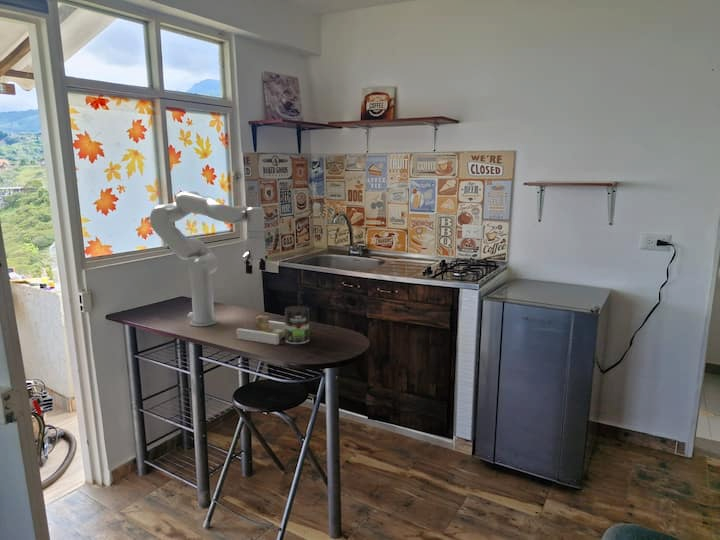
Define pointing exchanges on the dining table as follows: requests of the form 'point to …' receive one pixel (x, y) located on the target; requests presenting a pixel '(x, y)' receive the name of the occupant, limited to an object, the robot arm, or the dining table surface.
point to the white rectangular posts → (261, 334)
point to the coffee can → (297, 324)
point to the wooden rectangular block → (267, 326)
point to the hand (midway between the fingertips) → (255, 271)
